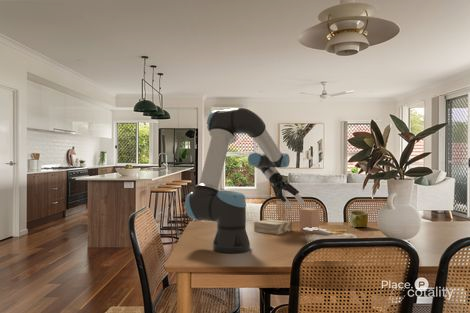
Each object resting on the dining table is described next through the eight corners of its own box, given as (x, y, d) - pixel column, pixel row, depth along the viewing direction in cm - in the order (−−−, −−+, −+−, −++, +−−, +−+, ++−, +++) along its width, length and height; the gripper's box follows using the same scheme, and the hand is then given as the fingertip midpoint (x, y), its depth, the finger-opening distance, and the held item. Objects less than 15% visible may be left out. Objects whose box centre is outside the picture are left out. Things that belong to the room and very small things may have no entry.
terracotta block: (311, 231, 179) (311, 210, 179) (300, 230, 184) (299, 209, 184) (318, 229, 184) (318, 208, 185) (306, 228, 189) (306, 207, 189)
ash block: (277, 235, 172) (277, 225, 172) (254, 231, 181) (254, 222, 181) (292, 231, 183) (291, 221, 183) (269, 228, 192) (269, 218, 192)
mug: (353, 220, 201) (356, 205, 198) (369, 228, 194) (373, 212, 190) (341, 227, 193) (344, 211, 190) (357, 236, 186) (361, 219, 183)
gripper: (282, 180, 212) (304, 207, 201) (256, 181, 193) (279, 211, 183) (289, 171, 208) (312, 198, 198) (264, 172, 190) (287, 202, 179)
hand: (296, 205), depth 190 cm, fingers open, 13 cm apart
